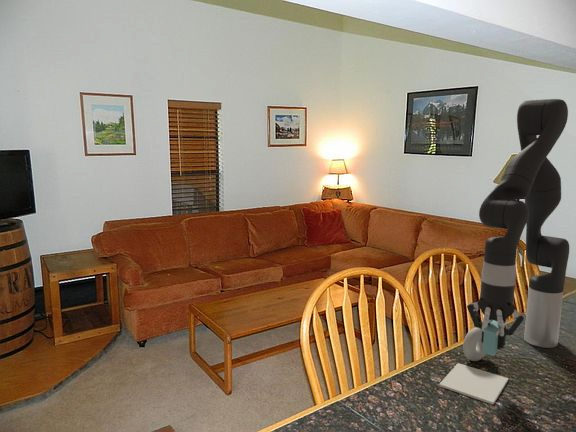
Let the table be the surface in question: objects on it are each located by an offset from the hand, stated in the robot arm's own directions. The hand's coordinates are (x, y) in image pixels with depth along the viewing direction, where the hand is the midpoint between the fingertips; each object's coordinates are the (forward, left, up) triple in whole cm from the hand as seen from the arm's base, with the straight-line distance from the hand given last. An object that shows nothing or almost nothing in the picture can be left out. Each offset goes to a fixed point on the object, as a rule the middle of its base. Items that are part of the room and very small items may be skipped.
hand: (492, 346), depth 113 cm
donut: (-12, -7, -11) cm, 18 cm away
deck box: (0, 0, -1) cm, 1 cm away
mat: (+1, -3, -11) cm, 11 cm away
